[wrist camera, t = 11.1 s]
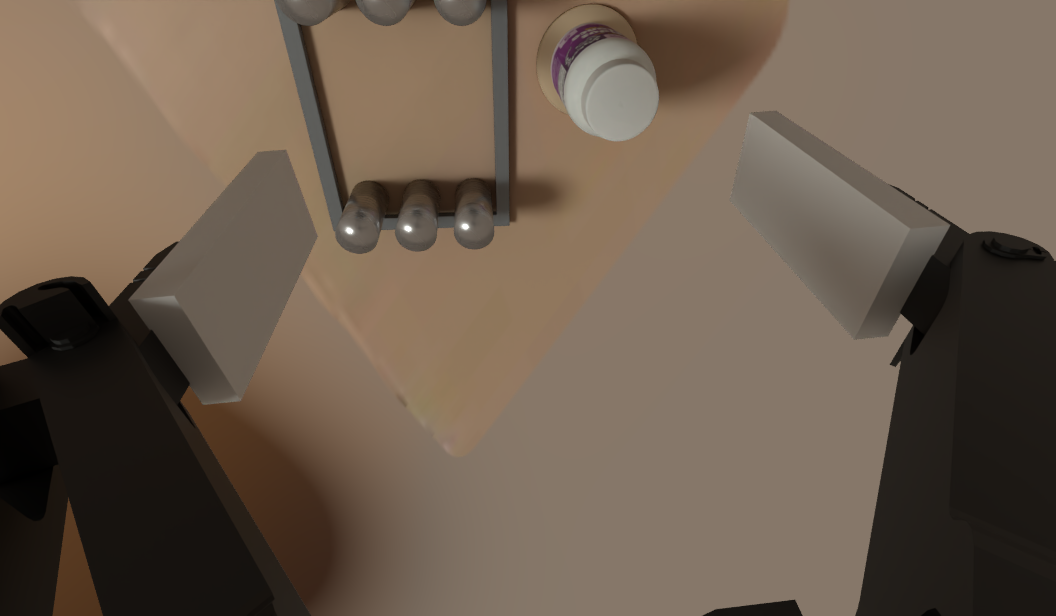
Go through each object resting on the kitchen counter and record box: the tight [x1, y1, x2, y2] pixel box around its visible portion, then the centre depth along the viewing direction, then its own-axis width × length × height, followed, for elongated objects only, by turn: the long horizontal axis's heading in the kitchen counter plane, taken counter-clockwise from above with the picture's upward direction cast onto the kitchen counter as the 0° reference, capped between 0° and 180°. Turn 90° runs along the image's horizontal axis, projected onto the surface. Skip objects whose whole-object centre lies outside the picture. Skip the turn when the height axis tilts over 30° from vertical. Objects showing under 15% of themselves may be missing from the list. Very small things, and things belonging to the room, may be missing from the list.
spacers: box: [275, 0, 494, 254], centre depth 32 cm, size 17×11×6 cm, turn 179°
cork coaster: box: [536, 4, 638, 115], centre depth 34 cm, size 7×7×1 cm
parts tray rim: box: [274, 0, 509, 231], centre depth 34 cm, size 19×14×1 cm
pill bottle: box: [551, 22, 659, 141], centre depth 30 cm, size 5×5×10 cm
